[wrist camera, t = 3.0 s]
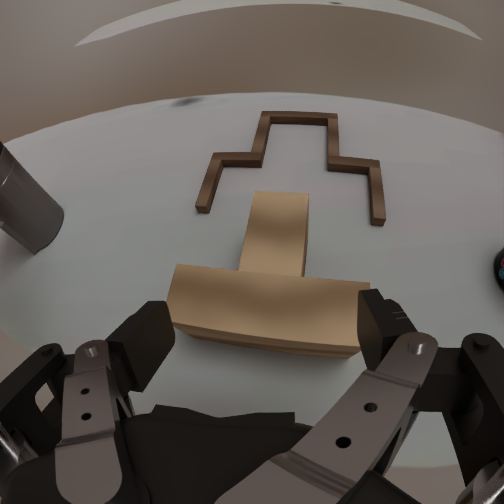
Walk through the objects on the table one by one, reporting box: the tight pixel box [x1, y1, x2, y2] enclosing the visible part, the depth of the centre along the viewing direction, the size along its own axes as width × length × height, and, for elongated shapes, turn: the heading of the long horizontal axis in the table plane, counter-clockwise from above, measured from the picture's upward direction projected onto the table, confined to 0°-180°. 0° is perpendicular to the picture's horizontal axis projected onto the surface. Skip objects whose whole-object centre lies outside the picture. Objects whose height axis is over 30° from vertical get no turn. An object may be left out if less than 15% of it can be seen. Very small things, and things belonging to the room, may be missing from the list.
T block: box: [166, 191, 370, 358], centre depth 27 cm, size 13×16×8 cm
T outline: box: [195, 111, 386, 226], centre depth 38 cm, size 20×23×2 cm
